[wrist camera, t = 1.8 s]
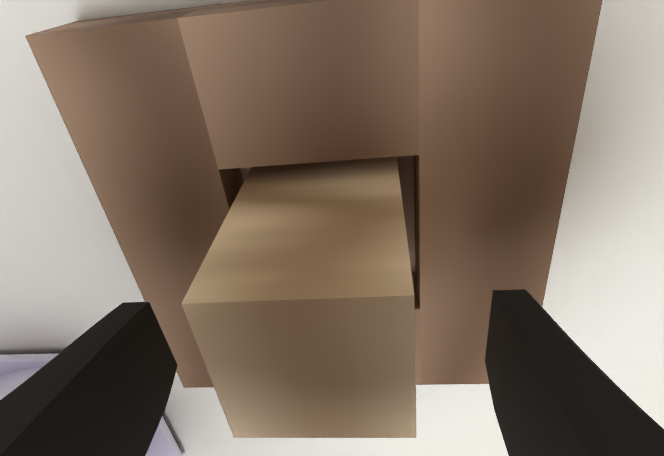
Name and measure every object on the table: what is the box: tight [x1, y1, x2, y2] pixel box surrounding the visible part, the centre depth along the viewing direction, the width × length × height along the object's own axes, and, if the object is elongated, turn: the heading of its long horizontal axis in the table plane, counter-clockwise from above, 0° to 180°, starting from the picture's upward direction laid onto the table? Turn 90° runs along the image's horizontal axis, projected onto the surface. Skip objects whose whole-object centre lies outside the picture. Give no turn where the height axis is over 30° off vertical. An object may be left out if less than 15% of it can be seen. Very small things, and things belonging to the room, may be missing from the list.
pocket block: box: [26, 0, 602, 388], centre depth 13 cm, size 12×12×2 cm
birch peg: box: [181, 157, 416, 438], centre depth 11 cm, size 4×4×6 cm
